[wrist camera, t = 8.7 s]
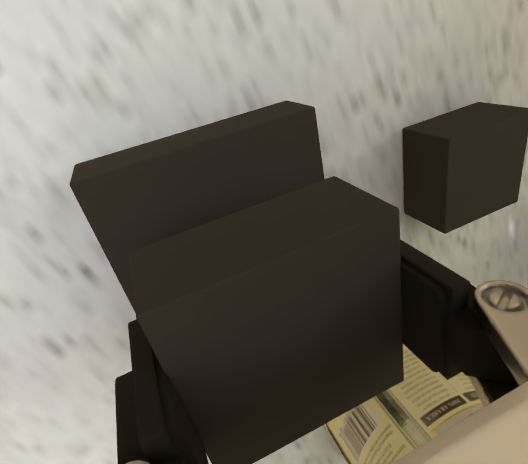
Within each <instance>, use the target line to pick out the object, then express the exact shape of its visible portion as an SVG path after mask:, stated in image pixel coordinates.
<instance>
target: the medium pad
mask: <svg viewBox="0 0 528 464" xmlns="http://www.w3.org/2000/svg"><path fill="white" fill-rule="evenodd" d="M128 255H129V263H130V271H131V279H132V287H133V295H134V303H135V311H136V318H137V320H138V322H139V324H140V326H141V328H142V330H143V332H144V334H145V336H146V338H147V339H148V341H149V343H150V345H151V347H152V349H153V351H154V353H155V355H156V357H157V359H158V361H159V363H160V365H161V367H162V368H163V370H164V372H165V373H167V375H168V377H169V379H170V381H171V383H172V385H173V387H174V389H175V391H176V393H177V395H178V397H179V399H180V401H181V403H182V405H183V406H184V408H185V410H186V412H187V414H188V416H189V418H190V420H191V422H192V424H193V426H194V428H195V430H196V432H197V434H198V436H199V438H200V439H201V441H202V443H203V445H204V448H205V452H206V454H207V455H208V457H209V459H210V461H211V463H212V464H253V463H255V462H256V461H258V460H260V459H262V458H264V457H266V456H267V455H269V454H271V453H273V452H275V451H276V450H278V449H280V448H282V447H284V446H286V445H287V444H289V443H291V442H293V441H295V440H297V439H298V438H300V437H302V436H304V435H306V434H307V433H309V432H311V431H313V430H315V429H317V428H318V427H320V426H322V425H324V424H326V423H328V422H329V421H331V420H333V419H335V418H337V417H338V416H340V415H342V414H344V413H346V412H348V411H349V410H351V409H353V408H355V407H357V406H359V405H360V404H362V403H364V402H366V401H368V400H369V399H371V398H373V397H375V396H377V395H379V394H380V393H382V392H384V391H386V390H388V389H390V388H391V387H393V386H395V385H397V384H399V383H400V382H402V381H403V380H404V366H403V342H402V307H401V273H400V266H401V260H400V225H399V209H398V208H397V207H395V206H393V205H391V204H389V203H387V202H385V201H383V200H381V199H379V198H377V197H375V196H373V195H371V194H369V193H367V192H365V191H363V190H361V189H359V188H357V187H355V186H353V185H351V184H349V183H347V182H345V181H343V180H341V179H339V178H337V177H335V176H333V177H330V178H327V179H325V180H322V181H319V182H317V183H314V184H311V185H309V186H306V187H303V188H300V189H298V190H295V191H292V192H290V193H287V194H284V195H282V196H279V197H276V198H273V199H271V200H268V201H265V202H263V203H260V204H257V205H255V206H252V207H249V208H246V209H244V210H241V211H238V212H236V213H233V214H230V215H228V216H225V217H222V218H219V219H217V220H214V221H211V222H209V223H206V224H203V225H201V226H198V227H195V228H192V229H190V230H187V231H184V232H182V233H179V234H176V235H173V236H171V237H168V238H165V239H163V240H160V241H157V242H155V243H152V244H149V245H146V246H144V247H141V248H138V249H136V250H133V251H130V252H129V253H128Z"/></svg>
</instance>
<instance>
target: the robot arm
mask: <svg viewBox="0 0 528 464" xmlns="http://www.w3.org/2000/svg"><path fill="white" fill-rule="evenodd" d="M400 260H401V266H400V273H401V307H402V342H403V344H404V345H405V346H406V347H407V348H408V349H409V350H410V351H411V352H412V353H413V354H414V355H415V356H416V357H418V358H419V359H420V360H421V361H422V362H423V363H424V364H425V365H426V366H427V367H428V368H429V369H430V370H431V371H433V372H435V373H437V372H439V373H440V374H441V375H442V376H443V377H445V378H446V379H447V380H449V379H450V378H452V377H454V376H456V375H458V374H459V373H461V372H463V373H464V374H465V375H466V376H468V377H469V379H470V381H471V383H472V385H473V387H474V389H475V391H476V393H477V395H478V397H479V399H480V401H481V403H482V405H483V406H484V408H482V409H481V410H479V411H477V412H476V413H474V414H472V415H471V416H469V417H467V418H466V419H464V420H462V421H461V422H459V423H457V424H456V425H454V426H452V427H451V428H449V429H447V430H446V431H444V432H442V433H441V434H439V435H437V436H436V437H434V438H432V439H431V440H429V441H428V442H426V443H424V444H423V445H421V446H419V447H418V448H416V449H414V450H413V451H411V452H409V453H408V454H406V455H404V456H403V457H401V458H400V459H398V460H396V461H395V462H393V463H391V464H528V288H526V287H524V286H522V285H520V284H517V283H514V282H510V281H503V280H494V281H488V282H484V283H482V284H481V285H479V286H478V287H477V288H476V287H474V286H472V285H471V284H470V281H468V280H466V279H465V278H463V277H461V276H460V275H458V274H456V273H455V272H453V271H451V270H450V269H448V268H447V267H445V266H443V265H442V264H440V263H438V262H437V261H435V260H433V259H432V258H430V257H428V256H427V255H425V254H423V253H422V252H420V251H418V250H417V249H415V248H413V247H412V246H410V245H409V244H407V243H405V242H404V241H402V240H400ZM128 329H129V340H130V351H131V362H132V371H131V372H129V373H126V374H124V375H122V376H120V377H117V378H116V380H115V395H116V424H117V453H118V464H208V460H207V456H206V452H205V448H204V445H203V443H202V441H201V439H200V438H199V436H198V434H197V432H196V430H195V428H194V426H193V424H192V422H191V420H190V418H189V416H188V414H187V412H186V410H185V408H184V406H183V405H182V403H181V401H180V399H179V397H178V395H177V393H176V391H175V389H174V387H173V385H172V383H171V381H170V379H169V377H168V375H167V373H165V372H164V370H163V368H162V367H161V365H160V363H159V361H158V359H157V357H156V355H155V353H154V351H153V349H152V347H151V345H150V343H149V341H148V339H147V338H146V336H145V334H144V332H143V330H142V328H141V326H140V324H139V322H138V320H134V321H132V322H130V323H128Z"/></svg>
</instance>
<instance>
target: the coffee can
mask: <svg viewBox="0 0 528 464" xmlns="http://www.w3.org/2000/svg"><path fill="white" fill-rule="evenodd" d="M403 366H404V380H403V381H402V382H400V383H399V384H397V385H395V386H393V387H391V388H390V389H388V390H386V391H384V392H382V393H380V394H379V395H377V396H375V397H373V398H371V399H369V400H368V401H366V402H364V403H362V404H360V405H359V406H357V407H355V408H353V409H351V410H349V411H348V412H346V413H344V414H342V415H340V416H338V417H337V418H335V419H333V420H331V421H329V422H328V423H326V424H324V426H325V428H326V429H327V430H328V431H329V432H330V434H331V436H332V438H333V439H334V441H335V443H336V444H337V446H338V447H339V449H340V451H341V453H342V454H343V456H344V457H345V459H346V461H347V462H348V464H391V463H393V462H395V461H396V460H398V459H400V458H401V457H403V456H404V455H406V454H408V453H409V452H411V451H413V450H414V449H416V448H418V447H419V446H421V445H423V444H424V443H426V442H428V441H429V440H431V439H432V438H434V437H436V436H437V435H439V434H441V433H442V432H444V431H446V430H447V429H449V428H451V427H452V426H454V425H456V424H457V423H459V422H461V421H462V420H464V419H466V418H467V417H469V416H471V415H472V414H474V413H476V412H477V411H479V410H481V409H482V408H484V406H483V405H482V403H481V401H480V399H479V397H478V395H477V393H476V391H475V389H474V387H473V385H472V383H471V381H470V379H469V377H468V376H466V375H465V374H464V373H463V372H461V373H459V374H458V375H456V376H454V377H452V378H450V379H449V380H447V379H446V378H445V377H443V376H442V375H441V374H440V373H439V372H437V373H435V372H433V371H431V370H430V369H429V368H428V367H427V366H426V365H425V364H424V363H423V362H422V361H421V360H420V359H419V358H418V357H416V356H415V355H414V354H413V353H412V352H411V351H410V350H409V349H408V348H407V347H406V346H405V345H404V344H403Z"/></svg>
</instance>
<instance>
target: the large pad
mask: <svg viewBox="0 0 528 464" xmlns="http://www.w3.org/2000/svg"><path fill="white" fill-rule="evenodd" d="M322 180H324V173H323V166H322V158H321V151H320V143H319V136H318V128H317V121H316V114H315V108H314V107H312V106H308V105H303V104H299V103H295V102H291V101H284V102H280V103H277V104H274V105H270V106H267V107H264V108H261V109H257V110H254V111H251V112H247V113H244V114H241V115H237V116H234V117H231V118H228V119H224V120H221V121H218V122H214V123H211V124H208V125H205V126H201V127H198V128H195V129H191V130H188V131H185V132H182V133H178V134H175V135H172V136H168V137H165V138H162V139H158V140H155V141H152V142H149V143H145V144H142V145H139V146H135V147H132V148H129V149H126V150H122V151H119V152H116V153H112V154H109V155H106V156H102V157H99V158H96V159H93V160H89V161H86V162H83V163H79V164H76V165H75V167H74V171H73V174H72V178H71V181H70V187H71V189H72V191H73V193H74V194H75V196H76V198H77V200H78V202H79V204H80V206H81V208H82V210H83V212H84V214H85V216H86V218H87V220H88V222H89V224H90V225H91V227H92V229H93V231H94V233H95V235H96V237H97V239H98V241H99V243H100V245H101V247H102V249H103V251H104V253H105V255H106V257H107V258H108V260H109V262H110V264H111V266H112V268H113V270H114V272H115V274H116V276H117V278H118V280H119V282H120V284H121V286H122V288H123V289H124V291H125V293H126V295H127V297H128V299H129V301H130V303H131V305H132V307H133V309H134V311H135V303H134V295H133V287H132V279H131V271H130V263H129V255H128V253H129V252H130V251H133V250H136V249H138V248H141V247H144V246H146V245H149V244H152V243H155V242H157V241H160V240H163V239H165V238H168V237H171V236H173V235H176V234H179V233H182V232H184V231H187V230H190V229H192V228H195V227H198V226H201V225H203V224H206V223H209V222H211V221H214V220H217V219H219V218H222V217H225V216H228V215H230V214H233V213H236V212H238V211H241V210H244V209H246V208H249V207H252V206H255V205H257V204H260V203H263V202H265V201H268V200H271V199H273V198H276V197H279V196H282V195H284V194H287V193H290V192H292V191H295V190H298V189H300V188H303V187H306V186H309V185H311V184H314V183H317V182H319V181H322ZM135 313H136V311H135Z"/></svg>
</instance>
